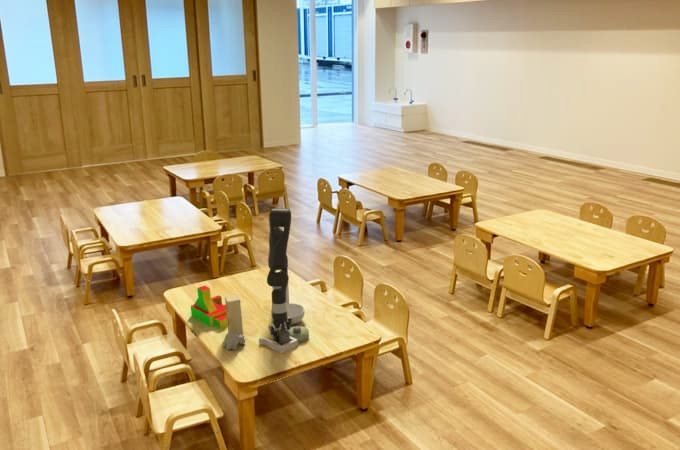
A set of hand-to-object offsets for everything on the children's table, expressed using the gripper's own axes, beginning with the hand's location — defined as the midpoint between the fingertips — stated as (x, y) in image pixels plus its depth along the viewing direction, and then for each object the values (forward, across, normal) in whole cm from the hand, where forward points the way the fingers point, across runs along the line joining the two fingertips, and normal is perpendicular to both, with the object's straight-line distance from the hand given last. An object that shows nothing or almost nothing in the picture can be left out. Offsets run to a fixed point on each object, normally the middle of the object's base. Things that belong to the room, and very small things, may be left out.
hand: (281, 339), depth 308 cm
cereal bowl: (+3, -20, -16) cm, 26 cm away
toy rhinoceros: (+3, +17, -16) cm, 23 cm away
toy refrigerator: (+3, +9, -27) cm, 29 cm away
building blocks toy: (+3, +3, -50) cm, 50 cm away
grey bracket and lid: (+3, -5, -2) cm, 6 cm away
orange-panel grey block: (+1, 0, 0) cm, 1 cm away
